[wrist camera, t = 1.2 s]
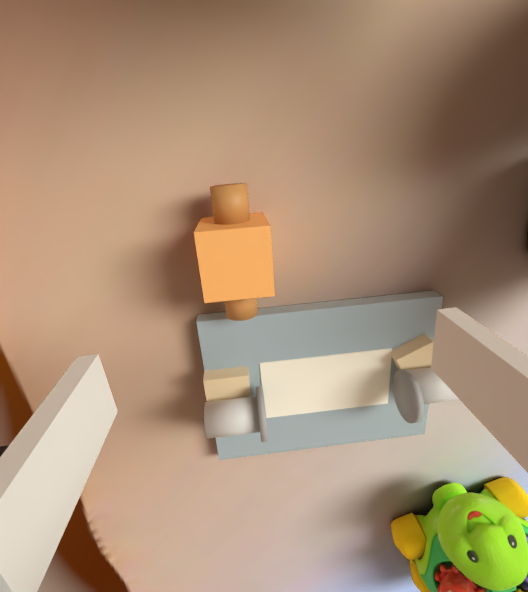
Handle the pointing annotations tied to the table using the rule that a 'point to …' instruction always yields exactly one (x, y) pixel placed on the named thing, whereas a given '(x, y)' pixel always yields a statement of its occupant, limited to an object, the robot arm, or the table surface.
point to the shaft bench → (320, 373)
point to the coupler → (234, 253)
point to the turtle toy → (468, 540)
